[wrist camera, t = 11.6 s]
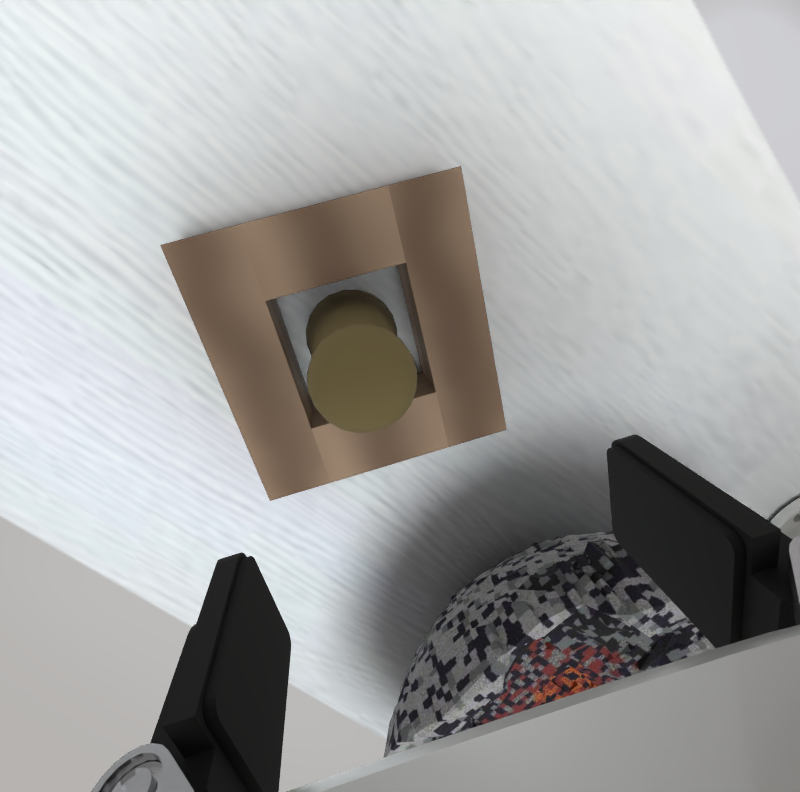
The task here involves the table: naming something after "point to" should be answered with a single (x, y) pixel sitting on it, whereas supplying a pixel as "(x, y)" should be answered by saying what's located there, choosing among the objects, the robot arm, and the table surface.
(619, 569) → the bowl
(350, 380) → the olive-brown rounded peg
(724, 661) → the robot arm
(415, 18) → the table surface
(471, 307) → the socket block
